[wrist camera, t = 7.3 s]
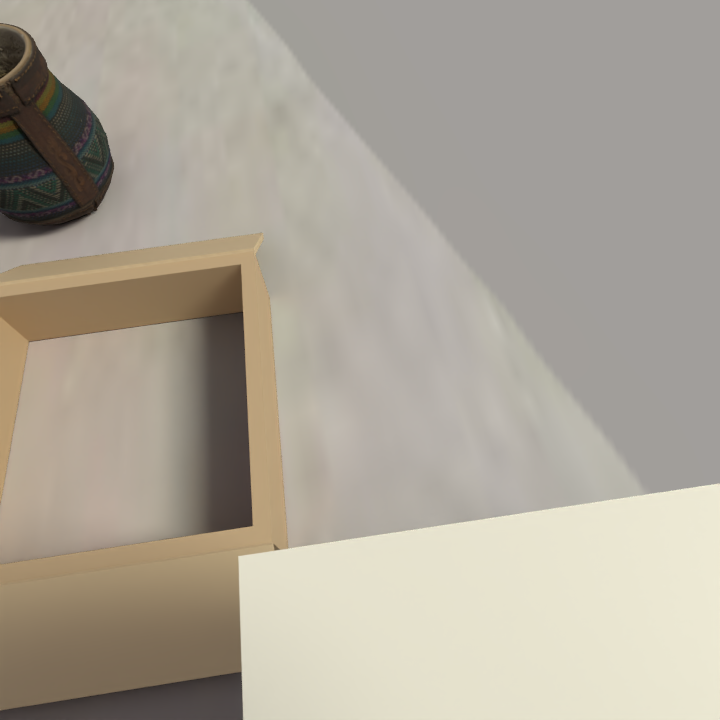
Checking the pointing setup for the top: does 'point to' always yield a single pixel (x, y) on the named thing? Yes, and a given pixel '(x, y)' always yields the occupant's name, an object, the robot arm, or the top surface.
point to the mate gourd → (46, 140)
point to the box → (494, 618)
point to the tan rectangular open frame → (151, 559)
